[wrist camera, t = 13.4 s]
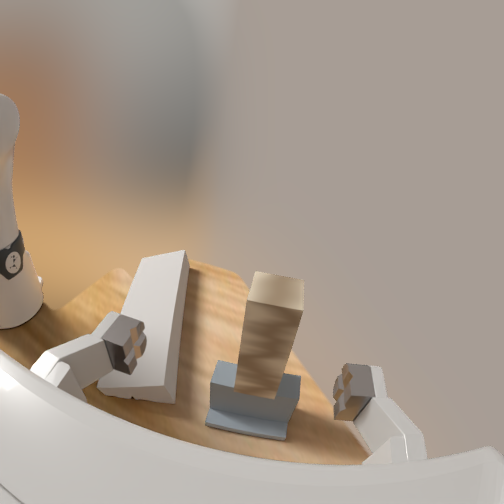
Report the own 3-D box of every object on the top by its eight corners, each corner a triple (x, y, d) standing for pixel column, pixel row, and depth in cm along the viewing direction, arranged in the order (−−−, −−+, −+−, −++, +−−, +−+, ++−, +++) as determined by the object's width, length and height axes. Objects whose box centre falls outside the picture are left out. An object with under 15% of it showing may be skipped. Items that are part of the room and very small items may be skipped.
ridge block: (205, 425, 30) (205, 397, 27) (220, 379, 37) (222, 347, 34) (284, 440, 30) (297, 415, 26) (289, 392, 37) (301, 362, 33)
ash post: (233, 391, 28) (246, 299, 22) (241, 362, 32) (255, 271, 26) (274, 399, 28) (303, 310, 22) (278, 369, 32) (304, 280, 26)
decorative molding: (113, 406, 32) (177, 404, 33) (96, 387, 30) (163, 385, 30) (149, 276, 62) (190, 268, 62) (142, 258, 60) (184, 249, 60)
